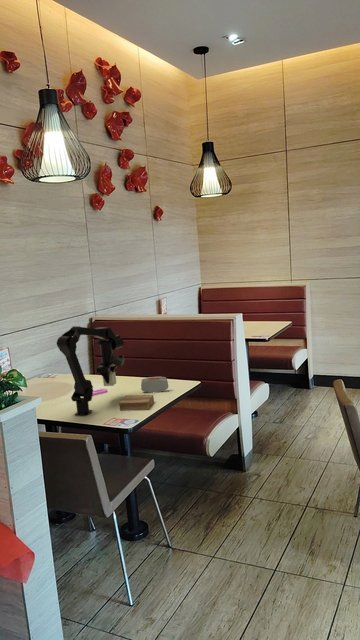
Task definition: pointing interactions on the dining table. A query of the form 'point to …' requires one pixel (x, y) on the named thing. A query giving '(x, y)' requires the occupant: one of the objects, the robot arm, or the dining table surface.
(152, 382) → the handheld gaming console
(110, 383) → the sage cube
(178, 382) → the dining table surface
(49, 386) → the dining table surface
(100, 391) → the bracket
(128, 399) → the walnut block
